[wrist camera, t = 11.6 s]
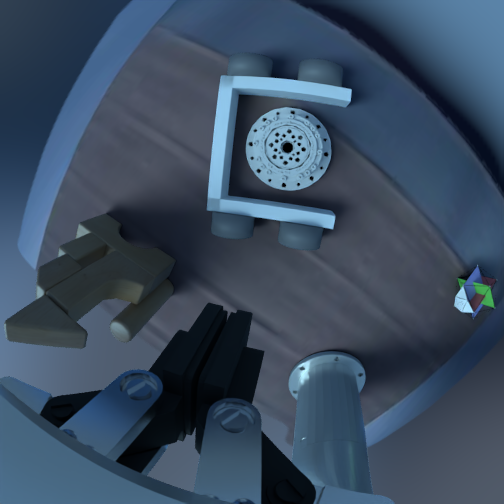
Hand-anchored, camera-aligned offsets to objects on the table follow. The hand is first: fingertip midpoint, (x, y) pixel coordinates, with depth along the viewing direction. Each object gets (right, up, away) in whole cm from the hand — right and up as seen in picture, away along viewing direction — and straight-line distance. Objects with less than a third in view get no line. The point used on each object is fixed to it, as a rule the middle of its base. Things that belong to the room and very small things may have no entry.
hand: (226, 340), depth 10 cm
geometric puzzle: (+33, -1, +22) cm, 40 cm away
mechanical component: (+5, +16, +22) cm, 28 cm away
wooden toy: (-16, +3, +30) cm, 34 cm away
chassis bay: (+5, +15, +22) cm, 27 cm away
